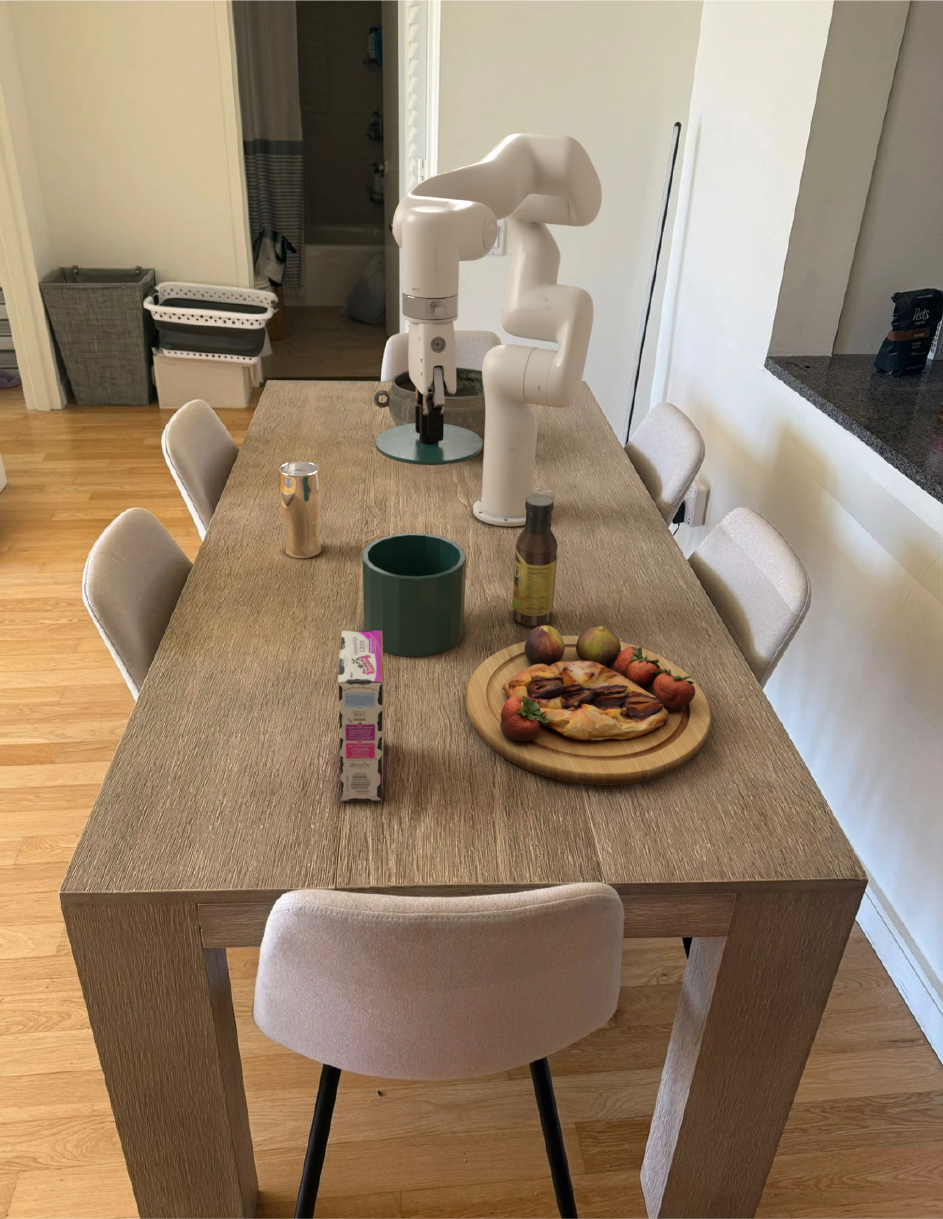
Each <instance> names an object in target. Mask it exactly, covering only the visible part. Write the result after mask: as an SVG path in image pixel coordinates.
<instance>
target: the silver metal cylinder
mask: <svg viewBox="0 0 943 1219" xmlns="http://www.w3.org/2000/svg"><path fill="white" fill-rule="evenodd" d="M322 492H323V489H322V478H321V472H320V466H319V465H318V464H316V463H314V462H310V461H304V460H303V461H302V460H301V461H299V460H298V461H297V460H296V461H289V462H285V463H284V464H282V465H279V468H278V497H279V502H280V507H281V513H282V515H283V518H284V520H283V521H284V523H285V528H286V542H285V553H286V554H287V555H288V556H290V557H292V558H296V559H309V558H314V557H316V556H318V555H319V554H321V552H322V551H323V550H322V549H323V548H322V543H321V538H320V534H319V526H320V517H321V510H322V501H323V493H322Z"/></svg>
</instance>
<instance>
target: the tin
mask: <svg viewBox="0 0 943 1219" xmlns="http://www.w3.org/2000/svg"><path fill="white" fill-rule="evenodd" d="M361 556H362V596H363V597H362V598H363V600H362V601H363V631H382V639H383V653H386V654H389V655H393V656H398V657H405V658H406V657H407V658H422V657H430V656H435V655H438V654H442V653H444V652H447V651H449V650H451V649H453V648H454V647H455V646H456V645H457V644H458V643H459V642H460V641H461V639H462V637H463V634H464V633H463V632H464V626H465V625H464V624H465V601H466V599H465V598H466V576H467V575H466V574H467V573H466V572H467V556H466V552H465V549H464V548H463V547H462V546H460V545H459V544H458V543H457V542H456V541H453V540H451V539H449V538H447V537H445V536H442V535H441V536H440V535H435V534H432V533H423V532H422V533H420V532H404V533H393V534H390V535H387V536H383V537H379V538H377V539H375V540H374V541H371V542H370V543H368V544H367V545H366V547H365V548H364V549H363V551H362V555H361Z"/></svg>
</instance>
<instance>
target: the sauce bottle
mask: <svg viewBox="0 0 943 1219" xmlns="http://www.w3.org/2000/svg"><path fill="white" fill-rule="evenodd" d="M554 502H555V501H554V499H552V498H551V497H549V496H547V495H541V494H535V495H531V496H529V497H527V498H526V502H525V508H526V522H525V525H524V528H523V529H522V531H521V532H520V534H519V535H518V536H517V539H516V542H515V549H514V564H513V577H512V578H513V580H512V581H513V582H512V600H511V606H512V618H513V619H514V620H515V621H516V622H518V623H519V624H521V625H524V626H526V627H539V626H543V625H546V624H547V623H549V622H550V621H551V619H552V615H553V608H554V600H555V587H556V577H557V576H556V575H557V565H558V564H557V563H558V562H557V560H558V556H557V555H558V554H557V551H558V541H557V538H556V536H555V534H554V533H553V531H552V512H553V510H554V507H555V506H554Z"/></svg>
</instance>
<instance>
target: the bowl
mask: <svg viewBox="0 0 943 1219" xmlns="http://www.w3.org/2000/svg"><path fill="white" fill-rule="evenodd" d="M430 390H431V389H430ZM380 396H385V397H386V401H384V402H381V401H379V398H380ZM415 398H416V386H415V385H414V383H413V382H412V380H411V378H410V375H409V369H407V370H405V371H402V372H399V373H398V374H397V375H395V376H394V377H393V378H392V379H391V386H390V387H389V388H388V391H387V390H384V389H381V390H379V391H377V392H376V393H375V394H374V396H373V402H374V404H375V405H376V406H377V407H378V408H380V409H381V408H387V407H388V410H389V413H390V416H391V418H392V421H393V423H394V424H395V427H396V426H400V425H406V424H415V406H420V405H416V400H415ZM444 398H445V406H444V424H447V425H453V426H458V427H462V428H465V429H468V430H470V431H472V432H474V433H476V434H477V435H478V436H479V437H480V438H481V439H482V442H483V443H484V438H485V395H484V387H483V379H482V369H481V370H480V369H475V368H467V367H459V366H456V392H455V394H453V395H451V394H450V393H449V392H448V391H447V390H446V389H445V387H444Z"/></svg>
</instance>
